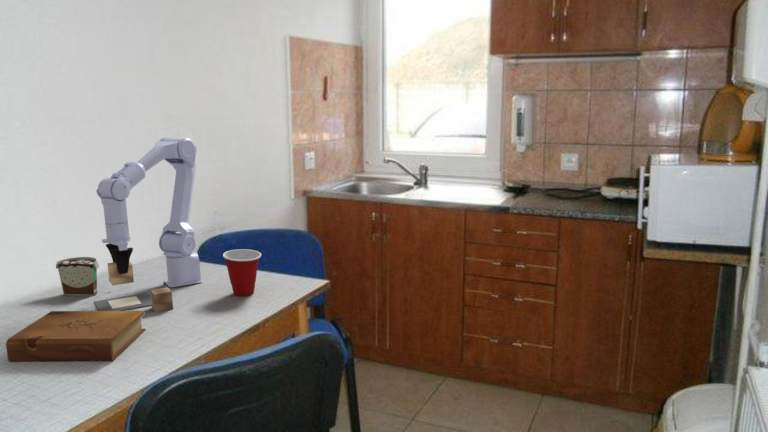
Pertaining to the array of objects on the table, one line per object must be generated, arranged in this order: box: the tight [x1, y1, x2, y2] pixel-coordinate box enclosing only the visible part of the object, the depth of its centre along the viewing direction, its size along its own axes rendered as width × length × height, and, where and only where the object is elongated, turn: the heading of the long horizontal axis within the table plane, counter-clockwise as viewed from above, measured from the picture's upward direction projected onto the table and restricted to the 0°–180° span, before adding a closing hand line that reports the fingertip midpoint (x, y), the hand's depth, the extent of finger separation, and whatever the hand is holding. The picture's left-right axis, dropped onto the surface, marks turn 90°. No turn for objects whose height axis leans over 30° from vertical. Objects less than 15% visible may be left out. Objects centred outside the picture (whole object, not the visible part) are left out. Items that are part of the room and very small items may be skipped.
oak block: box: [106, 260, 135, 286], centre depth 175 cm, size 6×6×5 cm
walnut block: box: [150, 286, 174, 313], centre depth 172 cm, size 4×4×5 cm
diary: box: [5, 310, 146, 363], centre depth 148 cm, size 23×19×6 cm
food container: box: [55, 256, 100, 297], centre depth 187 cm, size 12×6×10 cm, turn 84°
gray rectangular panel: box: [94, 292, 152, 311], centre depth 177 cm, size 14×12×1 cm
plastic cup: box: [222, 248, 262, 297], centre depth 183 cm, size 11×11×12 cm
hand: (121, 270), depth 175 cm, fingers closed on oak block, 5 cm apart
